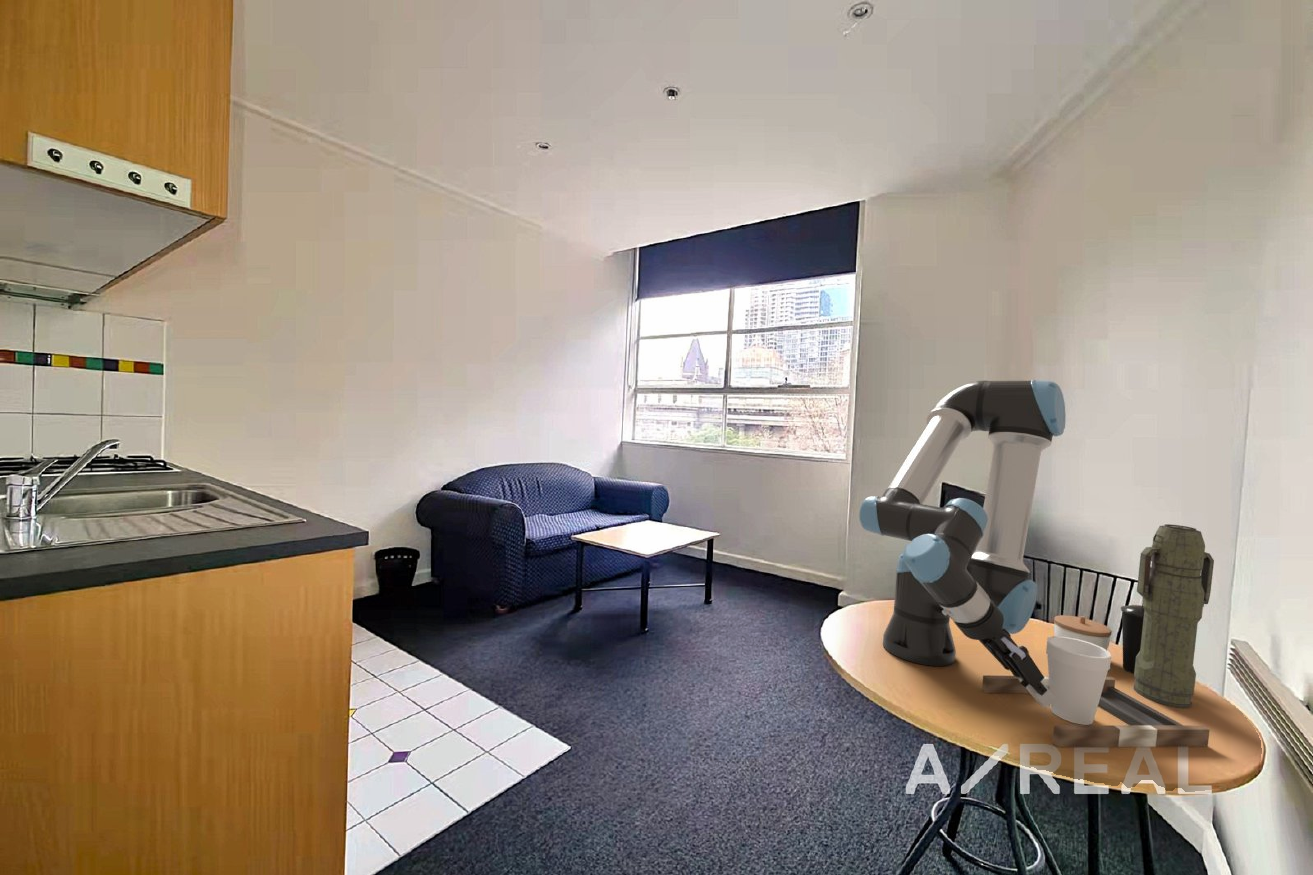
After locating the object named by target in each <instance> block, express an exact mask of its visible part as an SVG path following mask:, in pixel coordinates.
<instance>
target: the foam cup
mask: <svg viewBox="0 0 1313 875" xmlns="http://www.w3.org/2000/svg"><path fill="white" fill-rule="evenodd" d="M1046 641H1047V642H1046V648H1045V649H1046V650H1045V651H1046V652H1045V653H1046V655H1047V669H1048V670H1047V671H1048V676H1049V688H1050V691H1051V692H1052V694H1053V695H1054V696H1055V697H1056V698H1057V699H1055V700H1054V701H1053V702H1052V703H1051V704H1050V705H1049V706H1050V711H1051V713H1053V714H1054V715H1055V716H1057V717H1059V718H1060V719H1062V720H1064V721H1067V722H1070V723H1073V724H1078V725H1093V723H1094V721H1095V719H1096V718H1095V717H1096V714H1097V710H1098V707H1099V706H1098V704H1099V700H1100V697H1101V693H1102V690H1103V686H1104V683H1105V679H1106V677H1107V675H1108V671H1109V670H1111V660H1112V656H1111V652H1110V651H1108V649H1107V650H1105V649H1104V648H1102V647H1099V646H1097V645H1095V644H1092V643H1089V642H1086V641H1082V640H1079V639H1074V638H1069V637H1061V636H1055V635H1053V636H1049V637H1047V638H1046Z"/></svg>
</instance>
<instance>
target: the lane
mask: <svg viewBox="0 0 1313 875" xmlns="http://www.w3.org/2000/svg"><path fill="white" fill-rule="evenodd" d="M1043 676H1044V679H1043V680H1042V682H1043V683H1044V684H1045V685H1046V686H1047V688H1048V689H1049V690H1050V688H1049V675H1043ZM981 683H982V684H981V691H983V692H984V693H985V694H1030V692H1029V691H1028V690H1027V689H1026V688H1025V687H1024V686H1023V685H1021V684H1020V683H1021V682H1020V681H1019V677H1016V676H1014V675H996V674H995V675H992V674H991V675H988V674H987V675H984V674H983V676H982V682H981ZM1115 685H1116V679H1115V678H1113V677H1112V676H1106V679H1105V683H1104V686H1103V690H1102V693H1101V697H1100V700H1099V704H1098V707H1099V708H1101V709H1102V710H1104V711H1105V712H1108V713H1109V714H1110V715H1112V716H1114V717H1116V718H1117V719H1119V720H1120V721H1123V722H1124V723H1126V724H1125V725H1122V724H1121V725H1119V724H1117V725H1115V724H1114V725H1113V724H1112V725H1110V724H1109V725H1098V724H1097V725H1096V724H1095V725H1094V724H1090V725H1081V724H1078V725H1073V724H1072V725H1071V724H1070V725H1069V724H1067V725H1063V724H1060V725H1059V724H1057V725H1055V724H1054V727H1053V735H1052V744H1054V745H1055V746H1057V747H1058V748H1089V747H1090V748H1112V747H1113V748H1119V747H1120V748H1127V747H1128V748H1133V747H1134V748H1141V747H1143V748H1145V747H1146V748H1147V747H1149V748H1150V747H1151V748H1153V747H1154V748H1156V747H1157V748H1158V747H1159V748H1161V747H1164V748H1165V747H1175V748H1176V747H1181V748H1182V747H1186V748H1187V747H1191V748H1192V747H1209V737H1210V728H1208V727H1206V726H1204V725H1200V724H1199V725H1194V724H1193V725H1190V724H1189V725H1188V724H1187V725H1185V724H1182V723H1180V722H1178V721H1176V720H1174V719H1173V718H1171V717H1169V716H1168V715H1165V714H1163V713H1161V711H1158V710H1156V709H1155V708H1152V707H1150V706H1149V705H1147V704H1145V703H1144V702H1141V701H1140V700H1138V699H1136V698H1134V697H1132V696H1131V695H1128V694H1127V693H1125V692H1123V691H1122V690H1120V689H1117V688H1115ZM1127 724H1128V725H1127Z"/></svg>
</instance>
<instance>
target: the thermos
mask: <svg viewBox="0 0 1313 875" xmlns="http://www.w3.org/2000/svg"><path fill="white" fill-rule="evenodd" d="M1205 551H1206V543H1205V540H1204V538H1203V533H1202V531H1201V530H1197V528H1195V527H1191V526H1185V525H1179V524H1178V525H1177V524H1171V523H1170V524H1163V525H1159V527H1158V528H1157V529H1156V531H1155V533H1154V535H1153V537H1152V545H1151V546H1147V547H1145V548H1144V549H1143V550H1142V551H1141V552H1140V556H1139V557H1140V558H1139V567H1138V578H1137V584H1136V585H1137V587H1136V592H1137V593H1138V594H1139V595H1140V596H1141V598H1142V599H1143V601H1142V600H1141V606H1143V608H1144V620H1143V630H1142V639H1141V649H1140V652H1139V653H1138V655H1137V656H1136V662H1135V672H1134V674H1133V678H1134V684H1133V690H1134V691H1135V692H1136V693H1137V694H1138V695H1140V696H1142V697H1143V698H1146V699H1148V700H1150V701H1153V702H1155V703H1157V704H1160V705H1165V706H1168V707H1173V708H1180V709H1189V708H1191V707H1192V703H1193V702H1192V699H1193V695H1194V694H1195V686H1196V679H1197V678H1196V677H1197V673H1196V670H1195V668H1194V659H1195V651H1196V643H1197V642H1196V641H1197V632H1198V623H1199V622H1200V621H1201V619H1202V618H1203V610H1204V606H1205V605H1208V604H1209V602H1210V601H1209V600H1210V597H1211V593H1212V592H1211V591H1212V582H1213V573H1214V564H1215V560H1214V558H1213V557H1212V555H1211V554H1210V553H1209V552H1205Z"/></svg>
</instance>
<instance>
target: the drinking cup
mask: <svg viewBox="0 0 1313 875" xmlns="http://www.w3.org/2000/svg"><path fill="white" fill-rule="evenodd" d="M1142 601H1143V598H1142V600H1141V602H1142ZM1120 610H1121V622H1122V625H1121V626H1122V629H1121V630H1122V634H1121V635H1122V668H1123V670H1124V671H1126V672H1128V673H1131V674H1133V675H1134V672H1135V662H1136V656H1137V655H1138V653H1139V652H1140V649H1141V639H1142V630H1143V620H1144V608H1143V606H1142V604H1141V605H1140V604H1139V605H1138V604H1131V605H1121V607H1120Z"/></svg>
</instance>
